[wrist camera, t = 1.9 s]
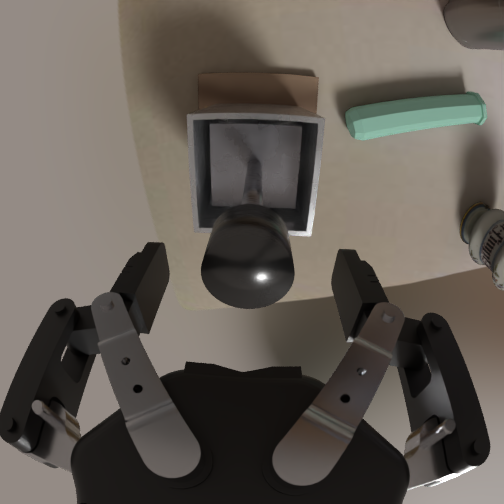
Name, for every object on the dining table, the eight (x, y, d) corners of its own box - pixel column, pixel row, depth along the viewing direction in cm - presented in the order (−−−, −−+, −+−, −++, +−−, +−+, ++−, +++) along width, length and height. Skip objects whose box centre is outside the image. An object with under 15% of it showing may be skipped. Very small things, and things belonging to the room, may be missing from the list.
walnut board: (200, 74, 31) (198, 73, 30) (316, 77, 31) (318, 77, 30) (203, 202, 42) (202, 205, 41) (305, 205, 42) (306, 209, 41)
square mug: (214, 103, 33) (183, 114, 20) (298, 106, 33) (324, 118, 19) (216, 193, 40) (193, 254, 27) (291, 196, 40) (307, 258, 27)
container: (357, 142, 31) (491, 122, 25) (342, 100, 30) (478, 87, 24) (349, 148, 36) (473, 127, 31) (337, 112, 35) (462, 95, 30)
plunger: (210, 123, 23) (137, 182, 9) (301, 125, 23) (363, 188, 9) (213, 203, 28) (169, 331, 14) (294, 206, 28) (324, 338, 14)
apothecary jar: (499, 202, 39) (551, 249, 24) (480, 249, 45) (523, 302, 30) (467, 191, 38) (527, 242, 24) (447, 245, 45) (493, 304, 30)
